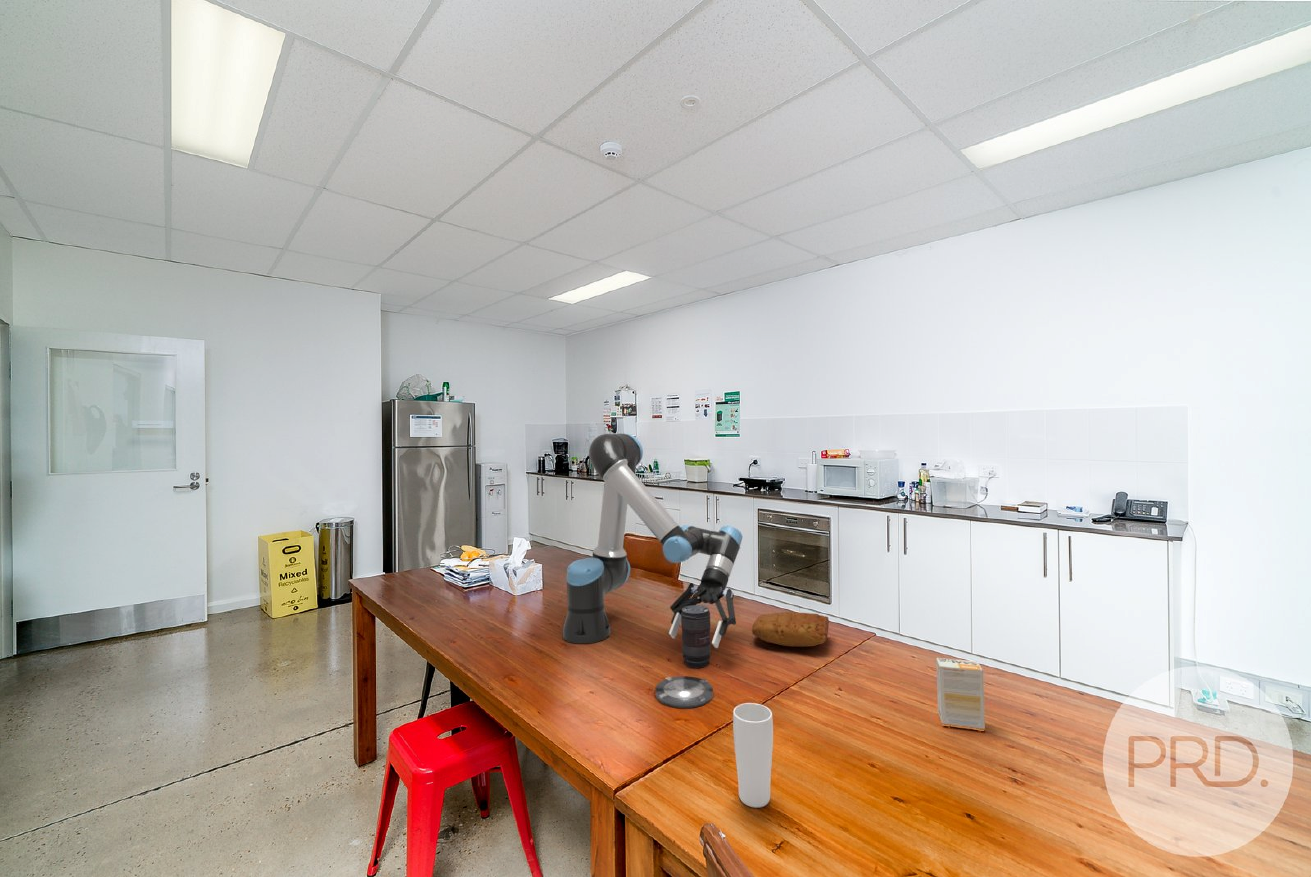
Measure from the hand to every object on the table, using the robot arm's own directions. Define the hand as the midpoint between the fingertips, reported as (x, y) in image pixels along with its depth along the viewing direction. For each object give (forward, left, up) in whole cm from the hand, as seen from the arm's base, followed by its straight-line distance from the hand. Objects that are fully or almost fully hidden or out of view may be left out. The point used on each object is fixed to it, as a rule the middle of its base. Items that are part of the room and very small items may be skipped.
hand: (692, 640), depth 147 cm
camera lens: (-1, +2, -7) cm, 7 cm away
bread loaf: (+6, +33, -7) cm, 34 cm away
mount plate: (+11, -12, -7) cm, 18 cm away
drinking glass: (+48, -26, -7) cm, 55 cm away
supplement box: (+58, +26, -7) cm, 64 cm away
